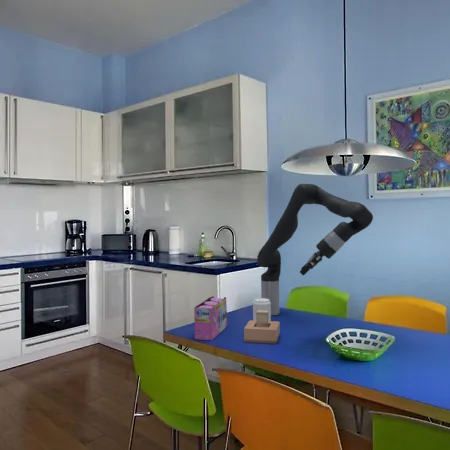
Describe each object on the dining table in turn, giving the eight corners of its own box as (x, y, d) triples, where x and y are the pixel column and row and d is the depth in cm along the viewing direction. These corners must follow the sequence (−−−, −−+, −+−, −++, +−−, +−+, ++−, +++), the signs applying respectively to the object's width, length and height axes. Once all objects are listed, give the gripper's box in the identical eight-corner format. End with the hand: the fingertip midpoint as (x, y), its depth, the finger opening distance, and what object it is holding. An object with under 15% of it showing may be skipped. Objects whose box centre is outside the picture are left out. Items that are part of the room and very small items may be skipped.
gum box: (212, 324, 200) (211, 295, 200) (228, 325, 198) (228, 296, 198) (194, 339, 177) (193, 307, 177) (212, 340, 175) (211, 308, 175)
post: (258, 333, 180) (257, 310, 180) (268, 334, 179) (268, 310, 179) (256, 336, 176) (256, 312, 176) (267, 337, 175) (266, 313, 175)
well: (249, 332, 185) (249, 320, 185) (279, 334, 182) (279, 321, 182) (244, 341, 173) (244, 328, 172) (276, 343, 170) (276, 330, 169)
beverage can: (264, 328, 191) (264, 302, 190) (249, 326, 196) (249, 300, 195) (274, 324, 197) (273, 299, 197) (259, 322, 202) (259, 297, 202)
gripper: (323, 236, 179) (296, 263, 182) (323, 239, 165) (294, 268, 168) (337, 249, 178) (309, 276, 181) (337, 252, 164) (307, 281, 167)
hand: (301, 272), depth 174 cm, fingers open, 8 cm apart
